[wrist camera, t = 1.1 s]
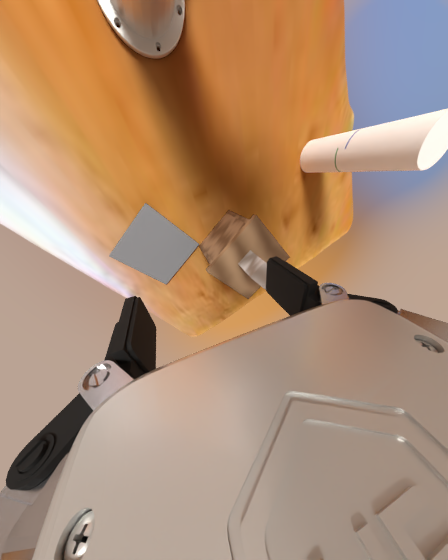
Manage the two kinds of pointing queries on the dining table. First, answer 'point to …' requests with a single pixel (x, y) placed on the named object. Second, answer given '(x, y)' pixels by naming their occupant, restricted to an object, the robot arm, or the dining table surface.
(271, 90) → the dining table surface
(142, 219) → the mat
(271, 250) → the lid
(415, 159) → the cylindrical container
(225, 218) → the box
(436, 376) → the robot arm
